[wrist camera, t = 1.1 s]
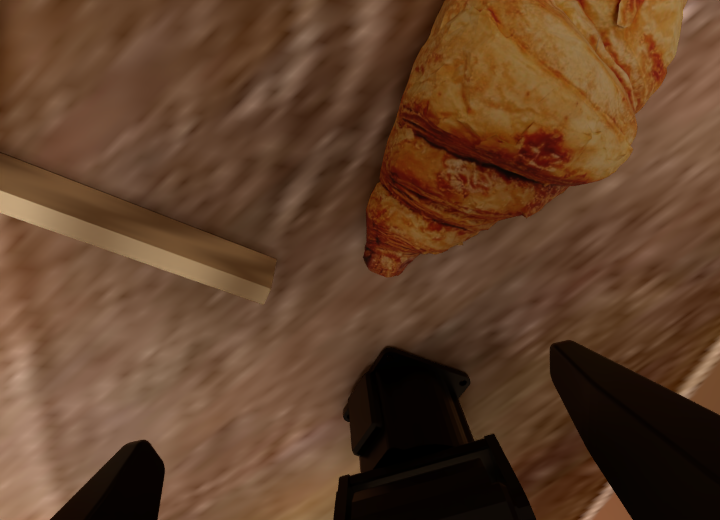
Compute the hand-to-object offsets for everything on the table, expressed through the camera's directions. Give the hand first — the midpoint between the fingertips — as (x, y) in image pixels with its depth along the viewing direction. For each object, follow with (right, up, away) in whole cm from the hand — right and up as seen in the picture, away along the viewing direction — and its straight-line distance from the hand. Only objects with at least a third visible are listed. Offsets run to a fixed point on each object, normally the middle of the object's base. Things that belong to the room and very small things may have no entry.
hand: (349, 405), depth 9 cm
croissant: (+7, +12, +10) cm, 17 cm away
